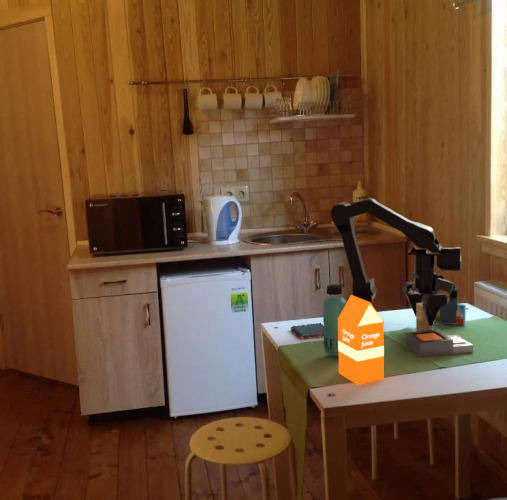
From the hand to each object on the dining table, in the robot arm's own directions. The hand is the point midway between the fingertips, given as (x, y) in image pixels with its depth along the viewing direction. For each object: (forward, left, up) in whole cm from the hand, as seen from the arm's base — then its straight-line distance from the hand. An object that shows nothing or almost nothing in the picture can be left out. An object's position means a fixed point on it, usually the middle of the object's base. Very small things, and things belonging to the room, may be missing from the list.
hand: (424, 321), depth 187 cm
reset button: (-5, -14, -1) cm, 15 cm away
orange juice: (-29, -27, -4) cm, 40 cm away
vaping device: (+11, +7, -4) cm, 14 cm away
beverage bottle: (-31, -12, -4) cm, 33 cm away
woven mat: (-32, +10, -4) cm, 34 cm away
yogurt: (+11, +9, -4) cm, 15 cm away
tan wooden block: (0, 0, -4) cm, 4 cm away
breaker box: (-2, -14, -4) cm, 15 cm away
